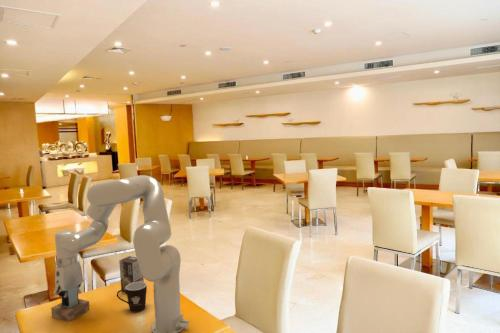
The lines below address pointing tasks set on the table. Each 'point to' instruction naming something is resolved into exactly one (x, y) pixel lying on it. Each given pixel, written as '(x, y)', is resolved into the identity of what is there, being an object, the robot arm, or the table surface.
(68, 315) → the socket block
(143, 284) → the coffee mug
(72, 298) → the peg
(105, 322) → the table surface
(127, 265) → the coffee box
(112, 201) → the robot arm
